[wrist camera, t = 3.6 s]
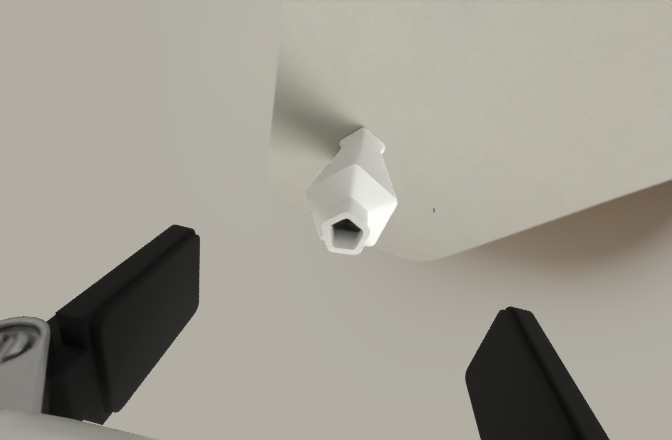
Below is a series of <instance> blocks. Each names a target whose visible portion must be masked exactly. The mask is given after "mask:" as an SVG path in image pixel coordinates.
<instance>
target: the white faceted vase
mask: <svg viewBox="0 0 672 440" xmlns="http://www.w3.org/2000/svg"><path fill="white" fill-rule="evenodd" d="M339 144H340V151H339V152H338V153H337V154H336V156H335V157H334V158H333V159H332V160H331V162H330V163H329V164H328V165H327V166H326V168H325V169H324V170H323V171H322V172H321V174H320V175H319V176H318V177H317V179H316V180H315V181H314V182H313V183H312V185H311V186H310V187H309V188H308V189H307V197H308V201H309V204H310V208H311V211H312V215H313V218H314V222H315V225H316V228H317V232H318V236H319V238H320V239H322V240H325V244H326V247H327V249H328V250H329V251H331V252H335V253H343V254H351V255H357V254H359V253H360V252H361V251H362V249H363V247H364V246H373V245H374V244H375V243H376V241H377V239H378V238H379V236H380V234H381V232H382V231H383V229H384V227H385V225H386V223H387V222H388V220H389V218H390V216H391V215H392V213H393V211H394V209H395V207H396V206H397V199H396V196H395V193H394V190H393V187H392V184H391V181H390V178H389V175H388V172H387V169H386V166H385V163H384V160H383V157H382V154H383V152H384V150H385V145H384V144H383V143H382V142H381V141H380V140H379V139H378V138H377V137H376V136H375V135H374V134H372V133H371V132H370V131H369V130H368V129H367V128H366V127H362V128H360V129H359V130H357V131H355V132H354V133H352V134H350V135H349V136H347V137H345V138H343V139H342V140H340V142H339Z"/></svg>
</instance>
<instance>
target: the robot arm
mask: <svg viewBox="0 0 672 440" xmlns="http://www.w3.org/2000/svg"><path fill="white" fill-rule="evenodd" d="M199 260H200V237H199V235H196V234H195V231H194V229H191V228H187V227H183V226H179V225H172V226H171V227H169V228H168V229H167V230H165V231H164V232H163V233H161V234H160V235H159V236H157V237H156V238H155V239H153V240H152V241H151V242H149V243H148V244H147V245H145V246H144V247H143V248H141V249H140V250H139V251H137V252H136V253H135V254H133V255H132V256H131V257H129V258H128V259H127V260H125V261H124V262H123V263H121V264H120V265H119V266H117V267H116V268H115V269H113V270H112V271H111V272H109V273H108V274H107V275H105V276H104V277H103V278H101V279H100V280H99V281H97V282H96V283H95V284H93V285H92V286H91V287H89V288H88V289H87V290H85V291H84V292H83V293H81V294H80V295H79V296H77V297H76V298H75V299H73V300H72V301H71V302H69V303H68V304H67V305H65V306H64V307H63V308H61V309H60V310H58V311H57V312H56V315H55V316H53V317H52V318H51V319H50V320H48V321H47V322H45V321H44V320H42V319H39V318H36V317H25V316H23V317H14V318H8V319H4V320H0V440H156V439H153V438H149V437H145V436H141V435H137V434H133V433H129V432H124V431H120V430H116V429H112V428H108V427H103V426H99V425H95V424H91V423H87V422H82V421H83V420H86V421H90V422H94V423H97V424H101V425H103V424H104V422H105V421H106V420H107V419H108V417H109V416H110V415H111V414H112V412H119V411H120V410H121V409H122V408H123V407H124V405H125V404H126V403H127V402H128V400H129V399H130V398H131V396H132V395H133V394H134V392H135V391H136V390H137V388H138V387H139V386H140V384H141V383H142V382H143V381H144V379H145V378H146V377H147V375H148V374H149V373H150V371H151V370H152V369H153V368H154V366H155V365H156V364H157V362H158V361H159V360H160V358H161V357H162V356H163V354H164V353H165V352H166V351H167V349H168V348H169V347H170V345H171V344H172V343H173V341H174V340H175V339H176V337H177V336H178V334H180V332H181V331H182V330H183V328H184V327H185V325H186V324H187V323H188V322H189V320H190V319H191V318H192V316H193V315H194V314H195V312H196V310H197V308H198V305H199V263H200V261H199ZM465 380H466V385H467V389H468V392H469V396H470V400H471V404H472V408H473V412H474V415H475V419H476V423H477V427H478V431H479V434H480V438H481V440H609V438H608V436H607V435H606V433H605V431H604V430H603V428H602V427H601V425H600V423H599V422H598V420H597V418H596V417H595V415H594V413H593V412H592V410H591V409H590V407H589V405H588V404H587V402H586V400H585V399H584V397H583V395H582V394H581V392H580V390H579V389H578V387H577V386H576V384H575V382H574V381H573V379H572V377H571V376H570V374H569V373H568V371H567V369H566V368H565V366H564V364H563V363H562V361H561V359H560V358H559V356H558V354H557V353H556V351H555V349H554V348H553V346H552V344H551V343H550V342H549V340H548V338H547V336H546V335H545V333H544V331H543V330H542V328H541V326H540V325H539V323H538V322H537V320H536V318H535V317H534V315H533V314H532V313H531V312H530V311H527V310H523V309H519V308H514V307H507V308H506V309H505V310H500V311H499V313H498V314H497V316H496V318H495V320H494V321H493V323H492V325H491V327H490V329H489V330H488V332H487V334H486V336H485V338H484V340H483V341H482V343H481V345H480V347H479V349H478V350H477V352H476V354H475V356H474V358H473V359H472V361H471V363H470V365H469V366H468V368H467V371H466V376H465Z"/></svg>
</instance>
